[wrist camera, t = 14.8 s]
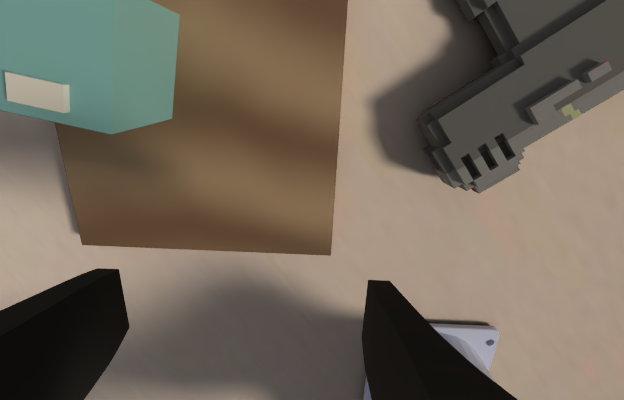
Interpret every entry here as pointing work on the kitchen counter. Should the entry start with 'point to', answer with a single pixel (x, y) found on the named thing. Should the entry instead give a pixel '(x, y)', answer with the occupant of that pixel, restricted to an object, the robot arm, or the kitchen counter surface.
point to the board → (225, 137)
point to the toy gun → (525, 84)
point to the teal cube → (88, 62)
